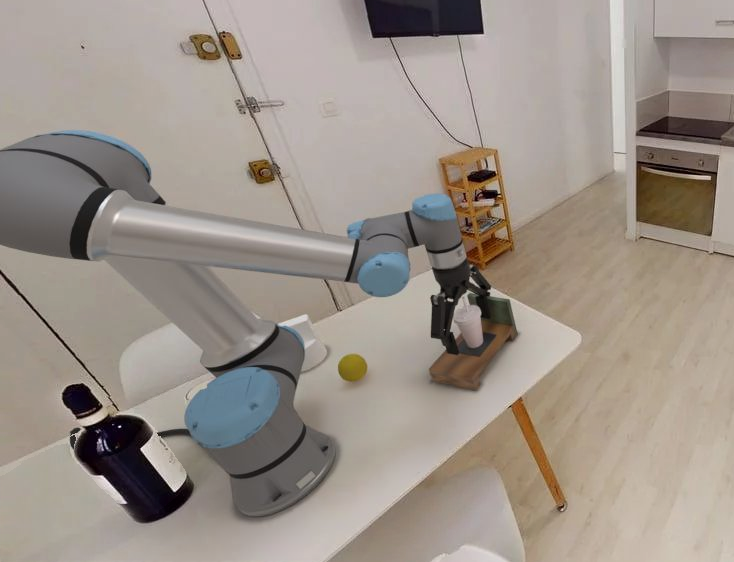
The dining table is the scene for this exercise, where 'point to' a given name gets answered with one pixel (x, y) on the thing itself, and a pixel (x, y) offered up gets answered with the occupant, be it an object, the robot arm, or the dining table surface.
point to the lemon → (352, 367)
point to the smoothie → (469, 324)
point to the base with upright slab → (308, 341)
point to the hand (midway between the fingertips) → (470, 334)
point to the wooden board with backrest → (474, 360)
